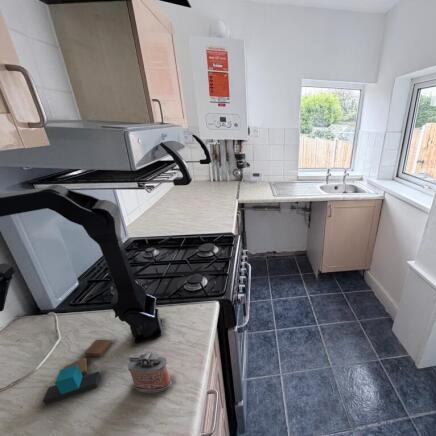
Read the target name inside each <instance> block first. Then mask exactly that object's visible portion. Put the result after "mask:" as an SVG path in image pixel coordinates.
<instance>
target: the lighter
mask: <svg viewBox="0 0 436 436" xmlns="http://www.w3.org/2000/svg"><path fill="white" fill-rule="evenodd" d="M128 360H129V361H128V363H127V366H126V368H127V370H128V371H129V372H130V373H129V374H130V376H131V379H132V381H133V388H134V390H135V391H136V392H140V393H159V392H164V391H167V390H168V389H170V387H171V386H172V378H171V377H170V373H169V369H168V365H167V364H168V361H167V358H166V357H164V356H160V354H159V353H152V352H151V351H146V352H145V353H130V355H129V356H128Z"/></svg>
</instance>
